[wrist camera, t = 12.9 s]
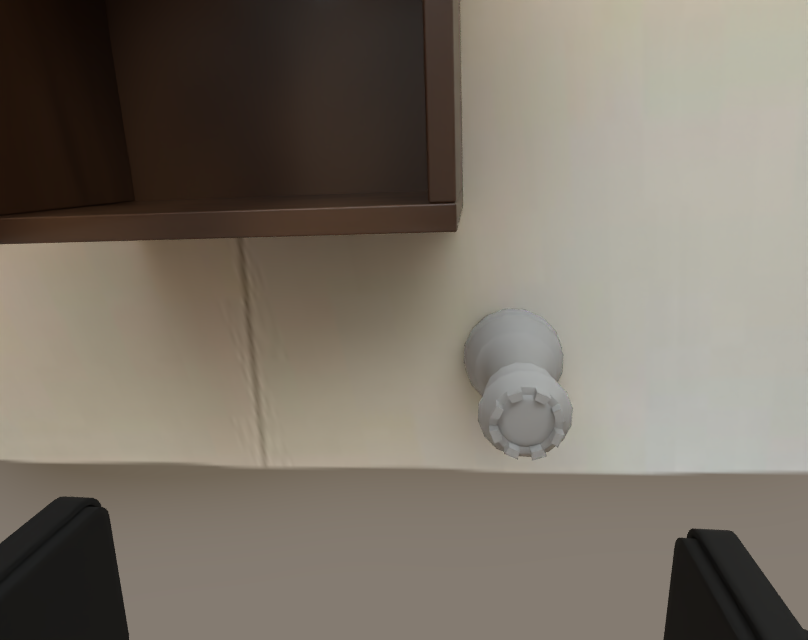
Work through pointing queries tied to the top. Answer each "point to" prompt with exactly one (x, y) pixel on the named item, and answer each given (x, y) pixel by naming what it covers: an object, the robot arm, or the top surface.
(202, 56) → the toy chest
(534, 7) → the top surface
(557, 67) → the top surface
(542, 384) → the rook chess piece
